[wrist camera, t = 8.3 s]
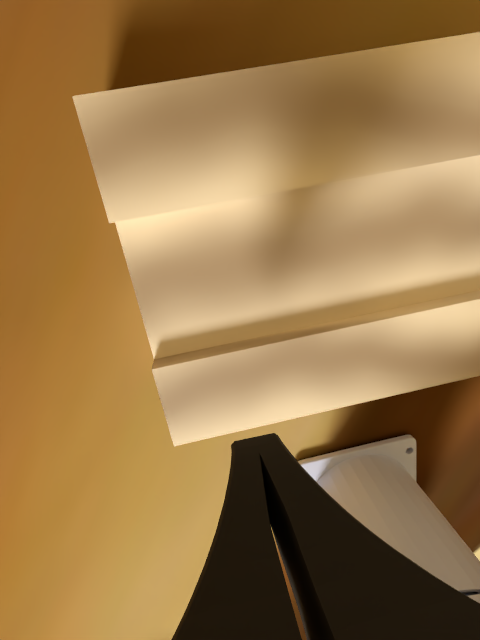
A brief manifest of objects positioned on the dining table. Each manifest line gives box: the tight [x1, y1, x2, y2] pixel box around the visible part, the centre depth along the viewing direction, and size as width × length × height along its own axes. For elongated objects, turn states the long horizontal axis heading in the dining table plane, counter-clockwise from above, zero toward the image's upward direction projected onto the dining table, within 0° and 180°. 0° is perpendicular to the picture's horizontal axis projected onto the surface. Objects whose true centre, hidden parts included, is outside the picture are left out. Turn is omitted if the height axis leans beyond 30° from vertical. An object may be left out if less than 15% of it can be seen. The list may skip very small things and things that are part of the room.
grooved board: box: [72, 32, 480, 446], centre depth 16 cm, size 14×16×4 cm
